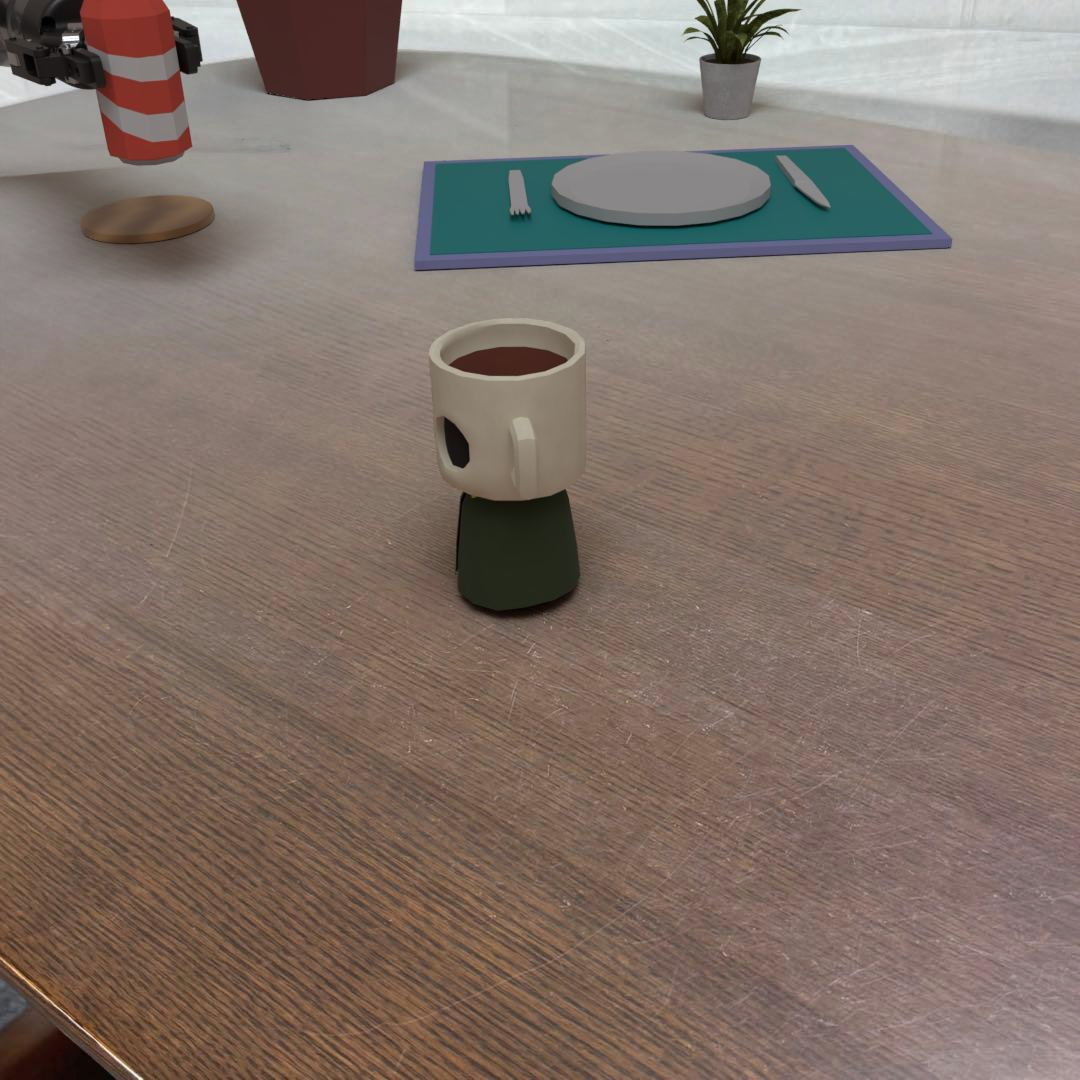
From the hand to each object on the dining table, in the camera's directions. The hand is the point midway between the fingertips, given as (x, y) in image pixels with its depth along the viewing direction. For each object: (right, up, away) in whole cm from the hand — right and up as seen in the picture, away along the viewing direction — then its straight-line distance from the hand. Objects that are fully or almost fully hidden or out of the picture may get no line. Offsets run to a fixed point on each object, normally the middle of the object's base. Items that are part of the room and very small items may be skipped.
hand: (145, 66), depth 87 cm
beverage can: (-1, -5, +5) cm, 8 cm away
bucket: (+1, +26, +73) cm, 77 cm away
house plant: (+50, +15, +54) cm, 75 cm away
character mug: (+27, -37, -26) cm, 53 cm away
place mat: (+40, -3, +26) cm, 48 cm away
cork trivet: (-8, -5, +25) cm, 27 cm away
